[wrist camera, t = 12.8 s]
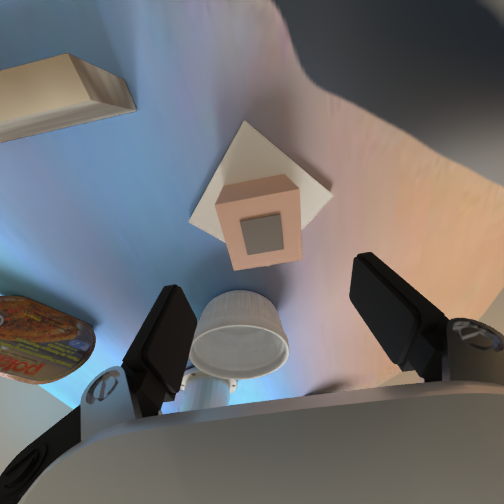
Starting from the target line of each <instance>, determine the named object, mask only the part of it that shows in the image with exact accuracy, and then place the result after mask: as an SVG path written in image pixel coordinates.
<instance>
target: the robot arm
mask: <svg viewBox="0 0 504 504" xmlns="http://www.w3.org/2000/svg"><path fill="white" fill-rule="evenodd" d="M349 297H350V300H351V302H352V304H353V305H354V307H355V308H356V310H357V311H358V312H359V314H360V315H361V317H362V318H363V320H364V321H365V323H366V324H367V326H368V327H369V329H370V330H371V332H372V333H373V335H374V336H375V338H376V339H377V341H378V342H379V343H380V345H381V346H382V348H383V349H384V351H385V352H386V354H387V355H388V357H389V358H390V360H391V361H392V362H393V363H394V364H398V366H399V367H400V369H401V370H402V372H404V371H412V370H416V372H417V373H418V375H419V376H420V383H416V384H405V385H395V386H385V387H377V388H368V389H360V390H352V391H343V392H335V393H326V394H318V395H310V396H302V397H293V398H285V399H277V400H269V401H261V402H253V403H245V404H237V405H230V406H229V397H230V393H232V392H233V391H234V390H235V389H236V388H237V380H233V379H224V378H218V377H214V376H211V375H209V374H206V373H204V372H202V371H201V370H199V369H198V368H196V367H194V368H190V369H188V370H186V371H185V368H186V365H187V361H188V357H189V353H190V349H191V346H192V342H193V338H194V334H195V330H196V327H197V319H196V317H195V315H194V313H193V311H192V309H191V307H190V305H189V303H188V301H187V299H186V297H185V295H184V293H183V291H182V289H181V287H178V286H177V285H169V286H165V287H164V288H163V289H162V291H161V293H160V295H159V296H158V298H157V300H156V302H155V304H154V305H153V307H152V309H151V311H150V312H149V314H148V316H147V318H146V319H145V321H144V323H143V325H142V327H141V328H140V330H139V332H138V334H137V335H136V337H135V339H134V341H133V343H132V344H131V346H130V348H129V350H128V351H127V353H126V355H125V357H124V358H123V360H122V361H123V363H122V365H121V367H119V366H114V367H111V368H108V369H106V370H105V371H103V372H101V373H100V374H99V375H98V376H96V377H95V378H94V379H93V380H92V381H91V382H90V383H89V385H88V386H87V388H86V389H85V391H84V393H83V395H82V397H81V404H80V405H79V406H78V407H76V408H75V409H74V410H73V411H71V412H70V413H69V414H68V415H67V416H65V417H64V418H62V419H61V420H60V421H59V422H57V423H56V424H55V425H54V426H52V427H51V428H50V429H49V430H47V431H46V432H45V433H43V434H42V435H41V436H40V437H38V438H37V439H36V440H35V441H33V442H32V443H31V444H30V445H28V446H27V447H26V448H25V449H24V450H23V451H21V452H20V453H19V454H18V455H17V456H16V457H15V458H14V459H13V460H12V462H11V463H10V464H9V465H8V466H7V467H6V469H5V470H4V472H3V473H2V474H1V476H0V504H504V336H503V335H502V334H501V333H500V332H498V331H497V330H495V329H494V328H492V327H490V326H488V325H486V324H484V323H482V322H479V321H476V320H472V319H467V318H454V319H451V320H449V319H448V318H447V317H446V316H444V315H445V314H444V313H443V312H441V311H440V310H439V309H438V308H437V307H436V306H434V305H433V304H432V303H431V302H430V301H428V300H427V299H426V298H425V297H424V296H423V295H421V294H420V293H419V292H418V291H417V290H415V289H414V288H413V287H412V286H411V285H410V284H408V283H407V282H406V281H405V280H404V279H403V278H401V277H400V276H399V275H398V274H397V273H395V272H394V271H393V270H392V269H391V268H390V267H388V266H387V265H386V264H385V263H384V262H383V261H381V260H380V259H379V258H378V257H377V256H375V255H374V254H373V253H372V252H366V253H360V254H358V255H357V257H355V258H354V261H353V269H352V277H351V285H350V294H349ZM180 388H181V389H182V390H183V391H184V393H183V397H182V401H181V405H180V407H179V412H177V413H170V414H162V412H161V407H162V404H163V402H169V401H174V399H175V395H176V393H178V392H179V390H180Z"/></svg>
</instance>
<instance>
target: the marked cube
mask: <svg viewBox="0 0 504 504" xmlns="http://www.w3.org/2000/svg"><path fill="white" fill-rule="evenodd" d="M215 208H216V212H217V215H218V218H219V222H220V225H221V229H222V232H223V235H224V239H225V242H226V245H227V249H228V252H229V256H230V259H231V262H232V266H233V269H234V271H237V270H243V269H249V268H255V267H262V266H268V265H274V264H280V263H287V262H293V261H299V260H303V257H302V232H301V207H300V189H299V188H298V187H297V186H296V185H295V184H294V183H293V182H292V181H291V180H290V179H289V178H288V177H287V176H286V175H285V174H281V175H276V176H271V177H265V178H260V179H255V180H250V181H245V182H240V183H235V184H230V185H225V186H223V188H222V190H221V192H220V194H219V196H218V199H217V201H216V203H215Z"/></svg>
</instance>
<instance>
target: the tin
mask: <svg viewBox="0 0 504 504" xmlns="http://www.w3.org/2000/svg"><path fill="white" fill-rule="evenodd" d="M95 343H96V336H95V333H94V331H93V329H92V328H91V326H90V325H89V324H87V323H86V322H84V321H82V320H79V319H77V318H74V317H72V316H70V315H67V314H65V313H62V312H60V311H57V310H55V309H53V308H50V307H48V306H46V305H43V304H41V303H39V302H36V301H34V300H31V299H29V298H25V297H20V296H0V376H2V377H5V378H9V379H13V380H17V381H20V382H24V383H29V384H46V383H51V382H54V381H57V380H59V379H62V378H64V377H66V376H67V375H69V374H71V373H72V372H74V371H75V370H77V369H78V368H80V367H81V366H82V365H83V364H84V363H85V362H86V361H87V360H88V359H89V357H90V356H91V354H92V352H93V350H94V348H95Z"/></svg>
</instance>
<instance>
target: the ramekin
mask: <svg viewBox="0 0 504 504" xmlns="http://www.w3.org/2000/svg"><path fill="white" fill-rule="evenodd" d="M288 356H289V344H288V339H287V336H286V334H285V332H284V331H283V328H282V324H281V321H280V318H279V315H278V313H277V310H276V309H275V307H274V305H273V304H272V303H271V302H270V301H269V300H268V299H267V298H265V297H264V296H262V295H260V294H258V293H255V292H252V291H247V290H234V291H229V292H225V293H223V294H221V295H219V296H217V297H215V298H214V299H212V300H211V301H210V302H209V303H208V304H207V305H206V307H205V309H204V310H203V312H202V314H201V317H200V319H199V322H198V324H197V327H196V330H195V334H194V338H193V342H192V346H191V349H190V353H189V359H190V361H191V362H192V364H193V365H194V366H195V367H196V368H198V369H199V370H201V371H202V372H204V373H206V374H209V375H211V376H214V377H218V378H224V379H233V380H243V379H253V378H258V377H261V376H265V375H267V374H270V373H272V372H274V371H276V370H277V369H279V368H280V367H281V366H282V365H283V364H284V363H285V362H286V361H287V359H288Z"/></svg>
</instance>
